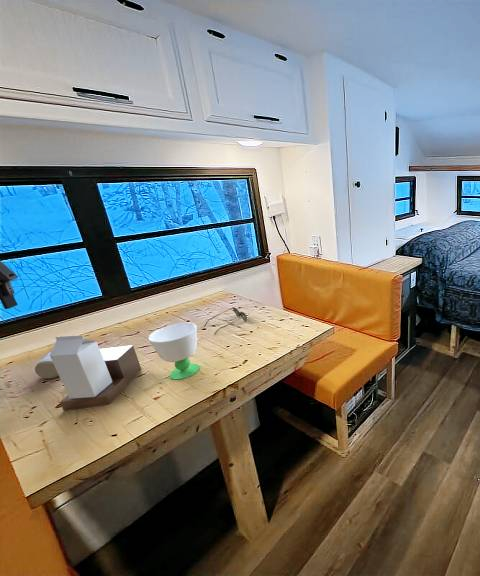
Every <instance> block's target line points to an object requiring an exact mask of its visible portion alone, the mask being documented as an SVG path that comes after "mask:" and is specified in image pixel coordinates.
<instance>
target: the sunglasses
mask: <svg viewBox="0 0 480 576" xmlns="http://www.w3.org/2000/svg"><path fill="white" fill-rule="evenodd" d="M231 310H233V313H234V314H235V316H236V317H237V318H238V317H239V318H238V319H237V320H234V321H232V322H230V323H228V324H225V325H224V326H221V327H220V328H218V329H217V330H215V332H214V334H215V335H216V334H217V333H218V331H220V330H221V329H223V328H225V327H228V326H229V325H232V324H234V323H236V322H238V321H240V320H241V319H242V320H243V321H244V322H245V321H246V322H245V323H247V322H248V317H247V314H246V313H245V312H243V311H239V309H237V308H236V307H234V306H233V307H231V308H228V309H227V310H224V311H223V312H220V313H218V314H216V315H214V316H213V317H211V318H209V319H207V321H206V322H205V324H204V328H205V327H206V325H207V324H208V323H209V322H210V320H213V319H215V318H217V317H218V316H220V315H222V314H223V313H226V312H228V311H231Z"/></svg>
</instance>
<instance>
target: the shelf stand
mask: <svg viewBox="0 0 480 576" xmlns="http://www.w3.org/2000/svg"><path fill="white" fill-rule="evenodd" d="M99 349H100V351H101V354H102V356H103V359H104V361H105V364H106V366H107V369H108V371H109V374H110V376H111V379H112V383H111V384H110V385H108V386H107V387H106V388H105V389H104V390H103V391H101V392H100V393H99V394H98V395H97V396H95V397H87V398H74V399H70V398H69V396H68V394H67V395H65V397H64V398H62V399H61V400H60V401H59V405H60V406H61V409H62V411H69V410H77V409H83V408H92V407H99V406H106V405H110V404H111V403H112V402H113V401H115V399H116V398H117V397H118V396H119V395H120V394H121V393H122V391H124V389H125V388H127V386H128V385H129V384H130V383H131V382H132V381H133V380H134V379H135V377H137V375H138V374H139V373H140V372H141V371H142V366H141V364H140V361H139V358H138V356H137V353H136V350H135V347H134V344H132V345H131V344H130V345H123V346H114V347H104V348H99Z"/></svg>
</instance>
